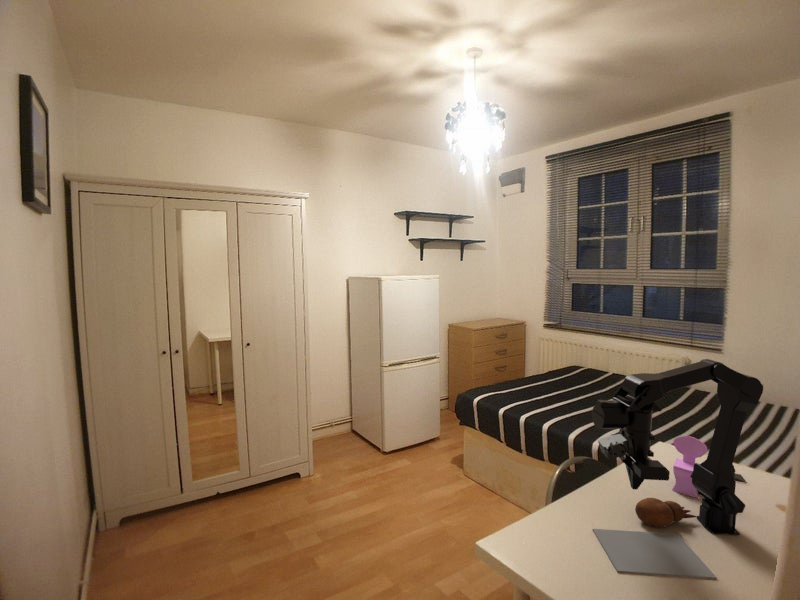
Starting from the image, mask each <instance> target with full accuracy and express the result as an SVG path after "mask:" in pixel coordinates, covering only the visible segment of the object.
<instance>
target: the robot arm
mask: <svg viewBox="0 0 800 600" xmlns="http://www.w3.org/2000/svg"><path fill="white" fill-rule="evenodd" d="M707 381H712V382H714V383H716V384H717V388H716V394H717V397H718V399H719V403H720V406H719V407H720V408H719V412H718V416H717V420H716V423H715V425H714V430H713V431H714V432H713V434H712V439H711V441H710V446H709V449H708V452H707V457H706V459H705V460H704V461H703V462H701V463H698V462H695V464H694V468H693V472H692V474H691V476H690V477H691V478H692V484H693V485H694V487H695V489H696V493H697V495H698V496H701V497H702V499H701V504H700V505H699V513H698V515H696V516H697V517H696V519H697V521H699V522H700V524H702V525H703V526H704V527H705V528H706V529H707V530H708V531H709V532H710V533H712V534H716V535H731V536H732V535H733V536H740V531H738V530H737V528H736V523H737V522H736V521H737V515H738V514H743V513H744V510H745V508H746V504H745V503H744V502H743V501H742V500H741V499H740V497H738V495H736V486H737V481H735V479H734V475H733V472H732V464H733V465H734V460H735V456H736V452H737V448H738V446H739V441H740V437H741V433H742V430H743V427H744V423H745V419H746V416H747V414H748V412H749V411H751V410H752V409H753V408H755V407H756V406H757V405H758V404H759V402H760V399H761V397H762V396H763V395H762V394H763V393H764V384H762V382H761V381H760V379H758V378H757V377H754V376H751V375H748V374H744V373H740V372H739V371H737V370H735V369H732V368H731V367H729V366H727V365H726V364H724V363H723V362H720V361H716V360H713V359H709V358H705V359H704V358H703V359H701V360H700V361H697V362H694V363H690V364H687V365H682V366H680V367H675V368H673V369H668V370H665V371H662V372H659V373H658V372H656V373H650V372H649V373H644V372H642V373H632V374H628V375H627V376H625V377H624V380H623V381H622V384H621V385H620V386H619V387H618V389H617V390H616V391H615V392H614V394H613V395H612V396H611V400H605V399H597V400H596V404H595V405H594V406H593V407H592V410H591V420H592V424H593V425H594V427H595V428H596V429H598V430H610V429H611V430H613V429H614V430H617V429H618V431H619V432H618V433H617V434H610V435H608V436H603V437H601V438H598V439H597V443H598V444H599V447H600V452H601V453H602V454H603V455H604V456H605V458H606V459H608V460H612V459H617V458H618V459H620V460H621V461H622V462H623V464H624V465H625V468H626V473H627V477H628V480H629V486H630V488H631V489H632V490H635V491H636V490H639V487H640V486H641V485H642V484H643V482H644V481H645V480H646V481H647V480H648V481H649V480H650V481H669V480H670V474H671V473H670V470H669V469H668V468H667V467H666V466H665V465H663V464H662V463H661V461H659V460H656V459H655V460H654V459H653V460H652V457H654V454H655V452H653V451H652V450H651V443H652V442H651V441H655V438H656V437H655V435H654V434H653V433H652V425H653V424H652V423H653V413H655V412H662V411H663V410H662V408H661V407H660V406H659V405H658V404H657V403H656V402H658V401H660V400H662V399H663V398H664V397H665V396H666V395H667V394H668V393H670V392H672V391H676V390H679V389H683V388H686V387H687V388H688V387H690V386H694V385H698V384H700V383H705V382H707ZM627 397H629V398H627ZM631 399H633V400H631Z"/></svg>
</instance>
